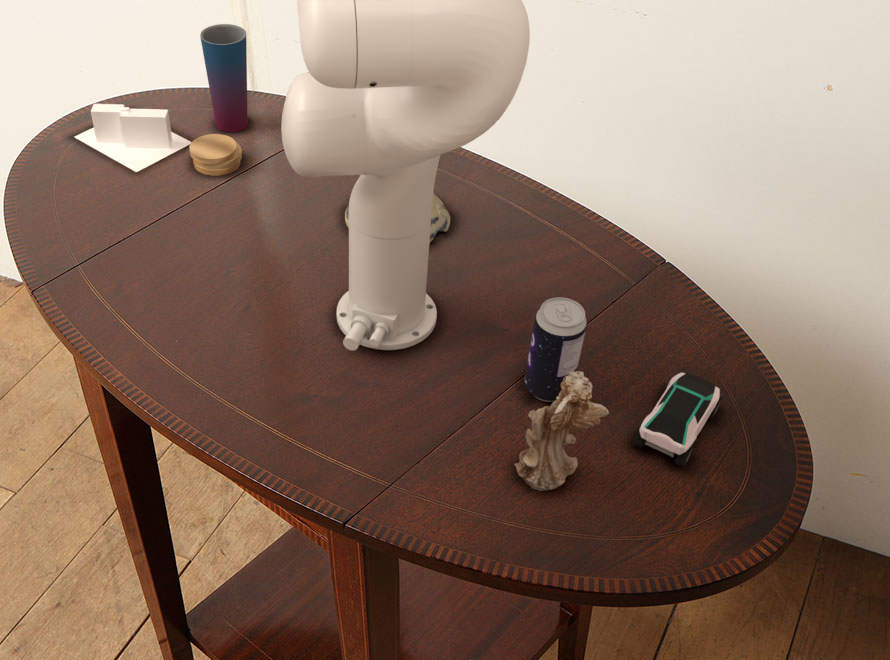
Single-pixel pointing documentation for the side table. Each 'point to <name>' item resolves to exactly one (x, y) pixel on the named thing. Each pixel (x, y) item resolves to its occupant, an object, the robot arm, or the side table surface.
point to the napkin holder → (132, 135)
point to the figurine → (558, 433)
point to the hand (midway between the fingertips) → (367, 74)
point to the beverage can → (554, 346)
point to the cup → (227, 74)
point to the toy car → (679, 416)
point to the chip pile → (215, 154)
